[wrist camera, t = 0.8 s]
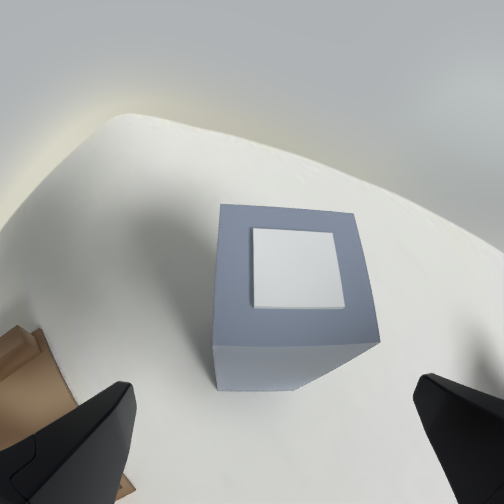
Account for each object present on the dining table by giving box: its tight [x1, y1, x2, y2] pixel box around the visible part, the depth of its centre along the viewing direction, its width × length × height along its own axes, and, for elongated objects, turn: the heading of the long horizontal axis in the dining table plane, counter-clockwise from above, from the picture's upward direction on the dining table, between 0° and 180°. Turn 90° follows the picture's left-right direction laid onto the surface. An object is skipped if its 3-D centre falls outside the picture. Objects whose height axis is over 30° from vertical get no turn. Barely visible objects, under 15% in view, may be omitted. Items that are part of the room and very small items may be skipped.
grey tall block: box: [212, 204, 380, 391], centre depth 13 cm, size 4×4×11 cm
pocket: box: [0, 325, 136, 501], centre depth 10 cm, size 12×12×3 cm
